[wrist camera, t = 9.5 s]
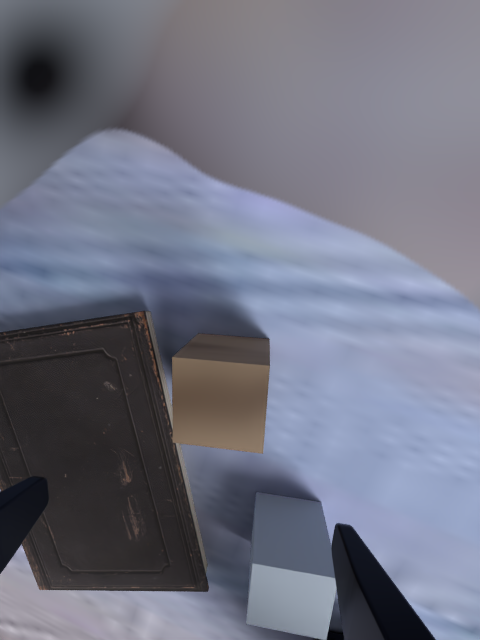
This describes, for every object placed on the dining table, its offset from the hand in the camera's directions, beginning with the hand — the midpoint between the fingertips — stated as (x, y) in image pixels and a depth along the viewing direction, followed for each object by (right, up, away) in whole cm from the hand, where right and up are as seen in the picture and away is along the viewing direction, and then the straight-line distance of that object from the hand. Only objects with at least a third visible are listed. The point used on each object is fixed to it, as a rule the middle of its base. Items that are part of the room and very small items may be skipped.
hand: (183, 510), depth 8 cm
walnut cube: (+1, +2, +10) cm, 11 cm away
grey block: (+5, -10, +13) cm, 17 cm away
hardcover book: (-10, -5, +14) cm, 18 cm away
